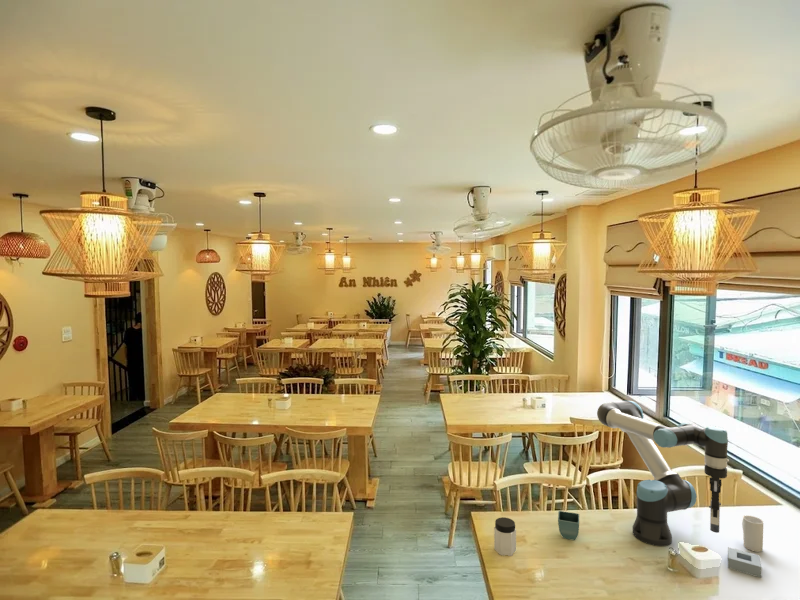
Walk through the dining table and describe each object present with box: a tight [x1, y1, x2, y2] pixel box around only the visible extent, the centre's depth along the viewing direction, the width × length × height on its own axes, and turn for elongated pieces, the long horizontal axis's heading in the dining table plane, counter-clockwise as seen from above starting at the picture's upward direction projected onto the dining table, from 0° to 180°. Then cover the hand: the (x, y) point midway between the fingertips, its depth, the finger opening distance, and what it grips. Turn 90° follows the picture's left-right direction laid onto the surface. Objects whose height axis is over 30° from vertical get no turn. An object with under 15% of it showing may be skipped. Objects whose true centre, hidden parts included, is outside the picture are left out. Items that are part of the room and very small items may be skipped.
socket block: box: [727, 546, 762, 578], centre depth 173 cm, size 10×9×4 cm
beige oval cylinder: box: [741, 515, 764, 553], centre depth 187 cm, size 10×7×12 cm, turn 172°
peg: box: [709, 499, 721, 534], centre depth 180 cm, size 3×3×12 cm
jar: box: [493, 517, 517, 557], centre depth 185 cm, size 9×8×12 cm
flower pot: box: [557, 510, 580, 541], centre depth 195 cm, size 9×9×9 cm
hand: (714, 522), depth 181 cm, fingers closed on peg, 3 cm apart
